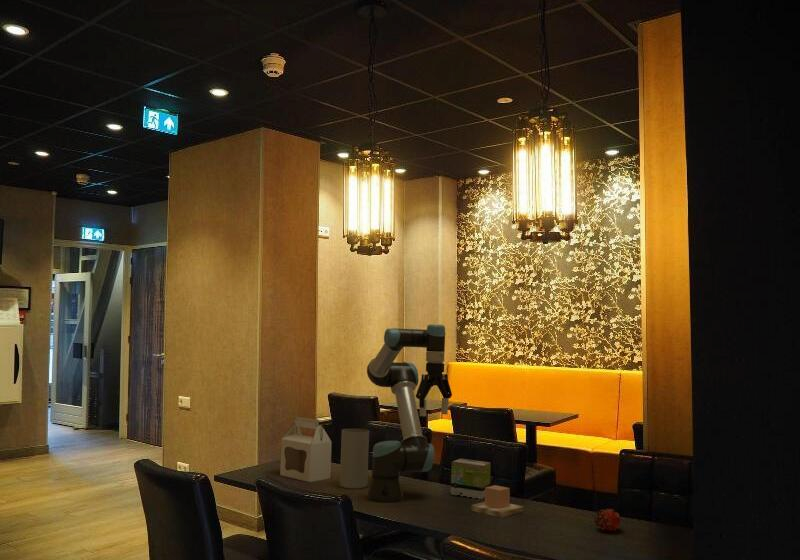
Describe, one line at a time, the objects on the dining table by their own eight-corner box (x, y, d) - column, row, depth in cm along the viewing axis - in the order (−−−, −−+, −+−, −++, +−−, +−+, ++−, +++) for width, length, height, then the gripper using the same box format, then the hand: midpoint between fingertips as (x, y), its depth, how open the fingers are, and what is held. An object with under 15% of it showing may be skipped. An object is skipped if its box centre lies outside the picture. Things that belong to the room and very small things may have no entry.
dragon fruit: (595, 537, 240) (614, 537, 247) (613, 527, 236) (632, 527, 243) (585, 514, 245) (603, 514, 252) (603, 504, 241) (621, 504, 248)
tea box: (449, 495, 293) (450, 460, 294) (458, 491, 302) (459, 457, 303) (482, 500, 286) (483, 464, 287) (490, 495, 295) (491, 461, 296)
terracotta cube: (484, 505, 268) (485, 487, 268) (495, 502, 273) (495, 485, 273) (499, 508, 263) (499, 490, 264) (509, 506, 268) (509, 488, 269)
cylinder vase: (366, 489, 299) (368, 432, 302) (338, 488, 300) (340, 431, 302) (368, 483, 312) (369, 429, 314) (341, 482, 312) (343, 428, 315)
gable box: (279, 475, 326) (282, 416, 329) (300, 471, 336) (303, 415, 339) (309, 482, 311) (312, 421, 314) (330, 478, 321) (333, 419, 324)
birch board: (470, 510, 267) (470, 505, 267) (492, 504, 278) (492, 499, 278) (502, 517, 257) (502, 512, 257) (523, 511, 268) (523, 506, 268)
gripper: (422, 362, 263) (420, 417, 261) (461, 362, 281) (460, 414, 279) (407, 361, 268) (406, 415, 266) (447, 362, 286) (446, 412, 284)
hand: (433, 415), depth 272 cm, fingers open, 13 cm apart
